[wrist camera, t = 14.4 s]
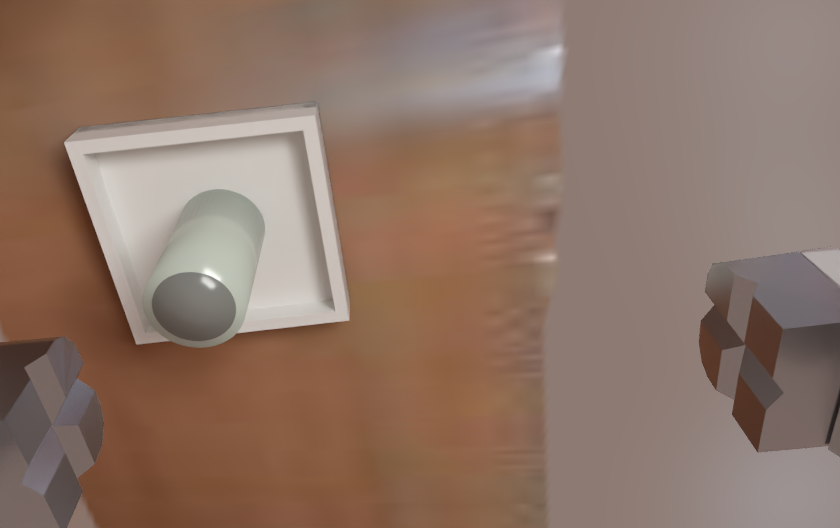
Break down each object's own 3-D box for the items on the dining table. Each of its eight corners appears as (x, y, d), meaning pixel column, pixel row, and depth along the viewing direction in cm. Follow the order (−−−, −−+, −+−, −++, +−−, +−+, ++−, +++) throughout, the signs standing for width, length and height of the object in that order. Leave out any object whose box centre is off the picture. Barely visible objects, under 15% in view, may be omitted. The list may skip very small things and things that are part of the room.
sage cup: (170, 194, 43) (128, 271, 35) (255, 184, 43) (233, 258, 35) (192, 267, 46) (157, 354, 38) (272, 258, 46) (255, 342, 38)
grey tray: (79, 127, 42) (64, 142, 40) (317, 101, 42) (314, 115, 40) (146, 322, 49) (136, 344, 47) (349, 299, 49) (349, 320, 47)
